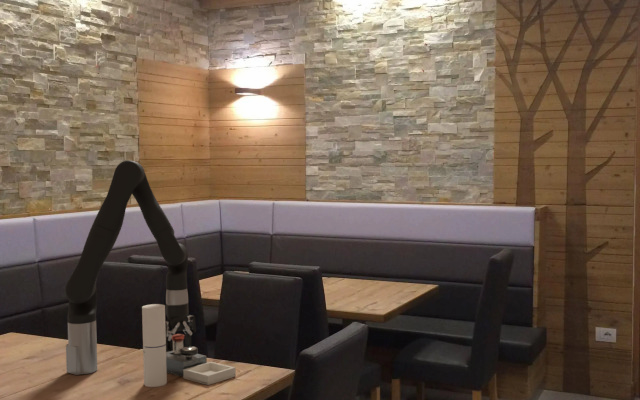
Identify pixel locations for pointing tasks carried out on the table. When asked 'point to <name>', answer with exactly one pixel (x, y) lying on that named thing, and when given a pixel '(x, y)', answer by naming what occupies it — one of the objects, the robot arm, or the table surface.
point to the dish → (209, 373)
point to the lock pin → (177, 343)
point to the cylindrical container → (154, 345)
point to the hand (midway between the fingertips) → (178, 348)
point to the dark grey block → (183, 360)
